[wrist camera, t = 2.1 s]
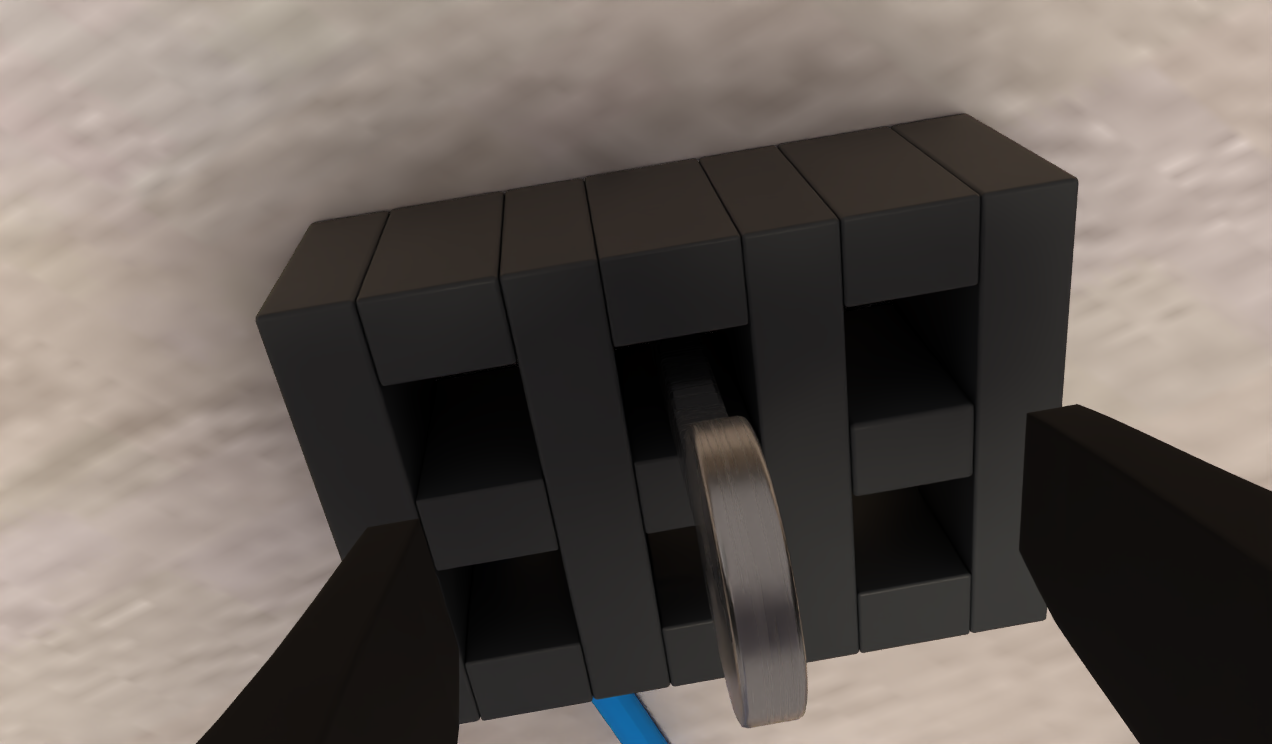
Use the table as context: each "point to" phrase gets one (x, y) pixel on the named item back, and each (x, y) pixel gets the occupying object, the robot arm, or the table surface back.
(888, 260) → the rack
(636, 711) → the pen
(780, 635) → the spoon
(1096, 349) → the table surface
